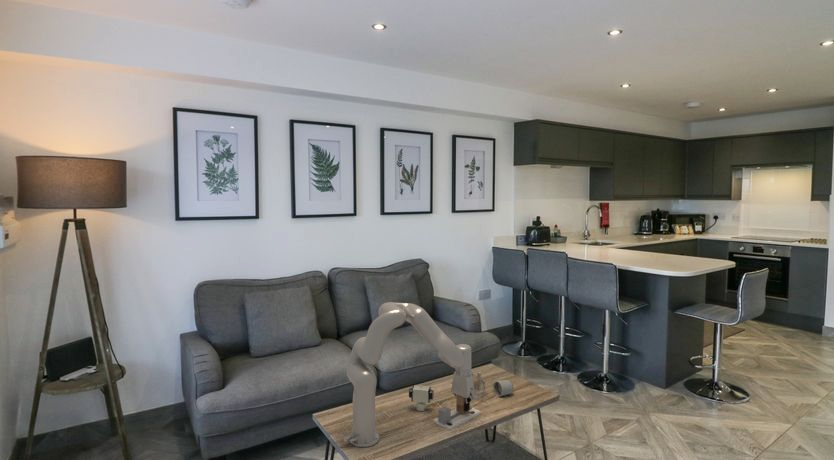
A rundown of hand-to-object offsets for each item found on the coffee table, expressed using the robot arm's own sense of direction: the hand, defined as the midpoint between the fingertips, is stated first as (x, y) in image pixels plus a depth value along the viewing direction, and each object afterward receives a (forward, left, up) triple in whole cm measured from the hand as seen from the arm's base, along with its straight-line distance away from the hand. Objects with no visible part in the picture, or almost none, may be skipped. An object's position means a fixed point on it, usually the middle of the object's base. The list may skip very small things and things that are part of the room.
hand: (463, 408), depth 216 cm
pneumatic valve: (-10, +18, -3) cm, 21 cm away
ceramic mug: (+32, +1, -4) cm, 33 cm away
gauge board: (-4, 0, -3) cm, 5 cm away
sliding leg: (0, -1, -1) cm, 2 cm away
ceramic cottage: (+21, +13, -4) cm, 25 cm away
